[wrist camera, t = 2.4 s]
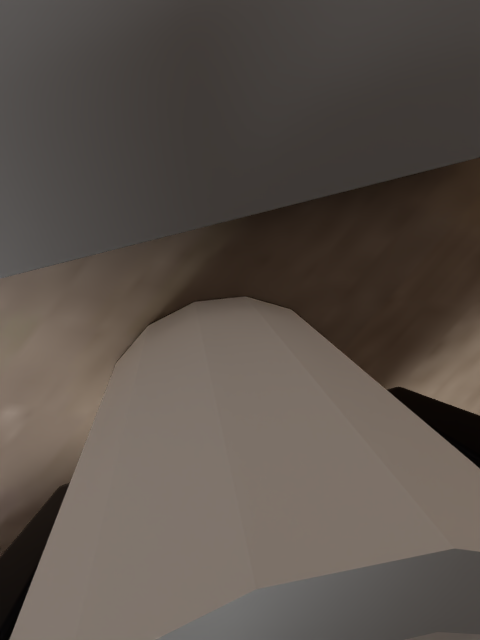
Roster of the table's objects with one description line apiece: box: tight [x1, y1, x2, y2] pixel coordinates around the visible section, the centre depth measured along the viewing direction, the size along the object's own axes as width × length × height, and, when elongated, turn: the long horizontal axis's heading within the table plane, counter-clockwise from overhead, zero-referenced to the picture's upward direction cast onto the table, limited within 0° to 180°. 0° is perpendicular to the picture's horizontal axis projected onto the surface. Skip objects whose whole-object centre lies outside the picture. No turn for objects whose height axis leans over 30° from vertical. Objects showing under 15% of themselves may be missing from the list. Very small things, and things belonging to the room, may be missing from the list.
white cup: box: [9, 296, 480, 640], centre depth 7 cm, size 7×7×7 cm
